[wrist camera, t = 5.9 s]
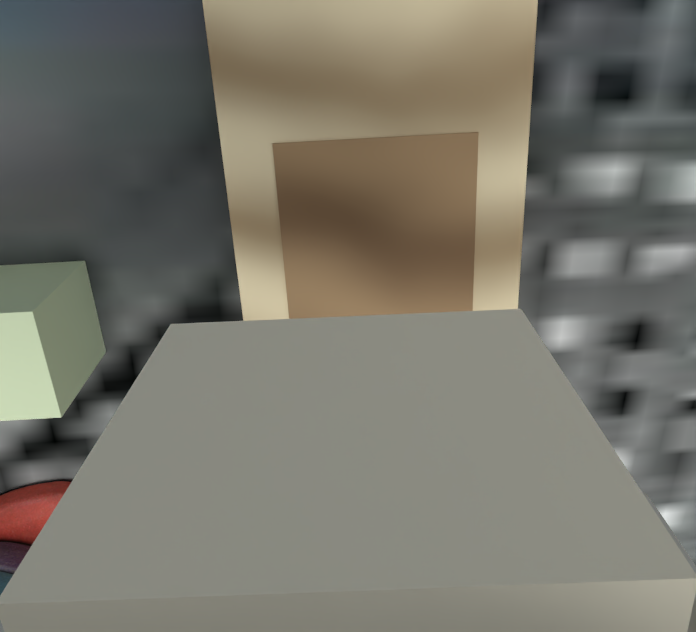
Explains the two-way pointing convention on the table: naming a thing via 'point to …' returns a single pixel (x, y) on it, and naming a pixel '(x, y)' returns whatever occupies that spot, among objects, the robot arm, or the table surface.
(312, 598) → the cream block
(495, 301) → the base board
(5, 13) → the table surface
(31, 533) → the stacking bear
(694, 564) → the robot arm
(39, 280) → the sage cube
